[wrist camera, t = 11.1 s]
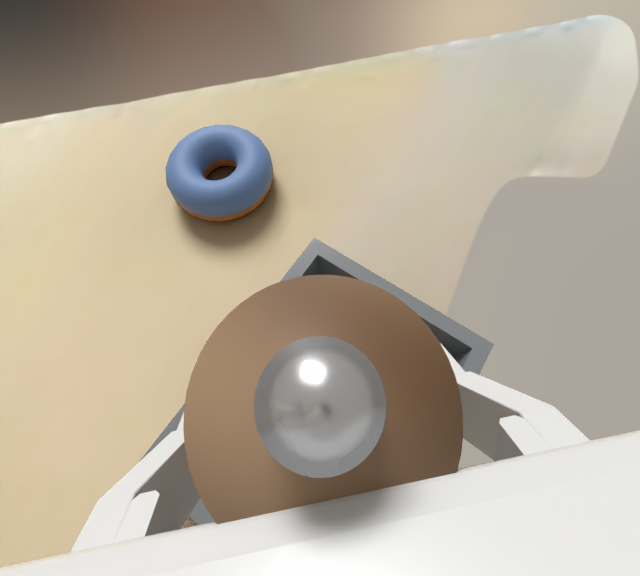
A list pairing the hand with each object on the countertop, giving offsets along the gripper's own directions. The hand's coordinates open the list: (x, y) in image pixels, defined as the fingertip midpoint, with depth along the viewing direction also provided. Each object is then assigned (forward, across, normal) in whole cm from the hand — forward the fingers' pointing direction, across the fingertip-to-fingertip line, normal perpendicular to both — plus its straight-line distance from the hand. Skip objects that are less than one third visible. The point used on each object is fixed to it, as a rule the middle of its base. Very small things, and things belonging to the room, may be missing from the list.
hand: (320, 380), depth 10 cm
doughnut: (+25, +6, -5) cm, 26 cm away
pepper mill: (+3, 0, +4) cm, 5 cm away
